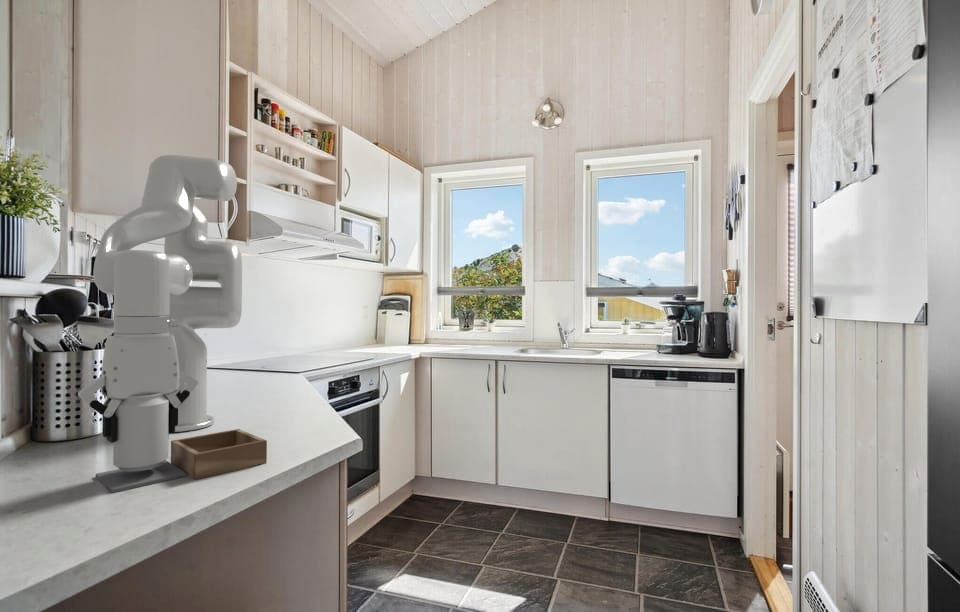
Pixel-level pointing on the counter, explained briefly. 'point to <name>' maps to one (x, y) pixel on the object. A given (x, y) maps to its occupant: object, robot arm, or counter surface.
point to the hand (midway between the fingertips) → (141, 435)
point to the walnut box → (218, 453)
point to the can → (141, 432)
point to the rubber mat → (138, 477)
